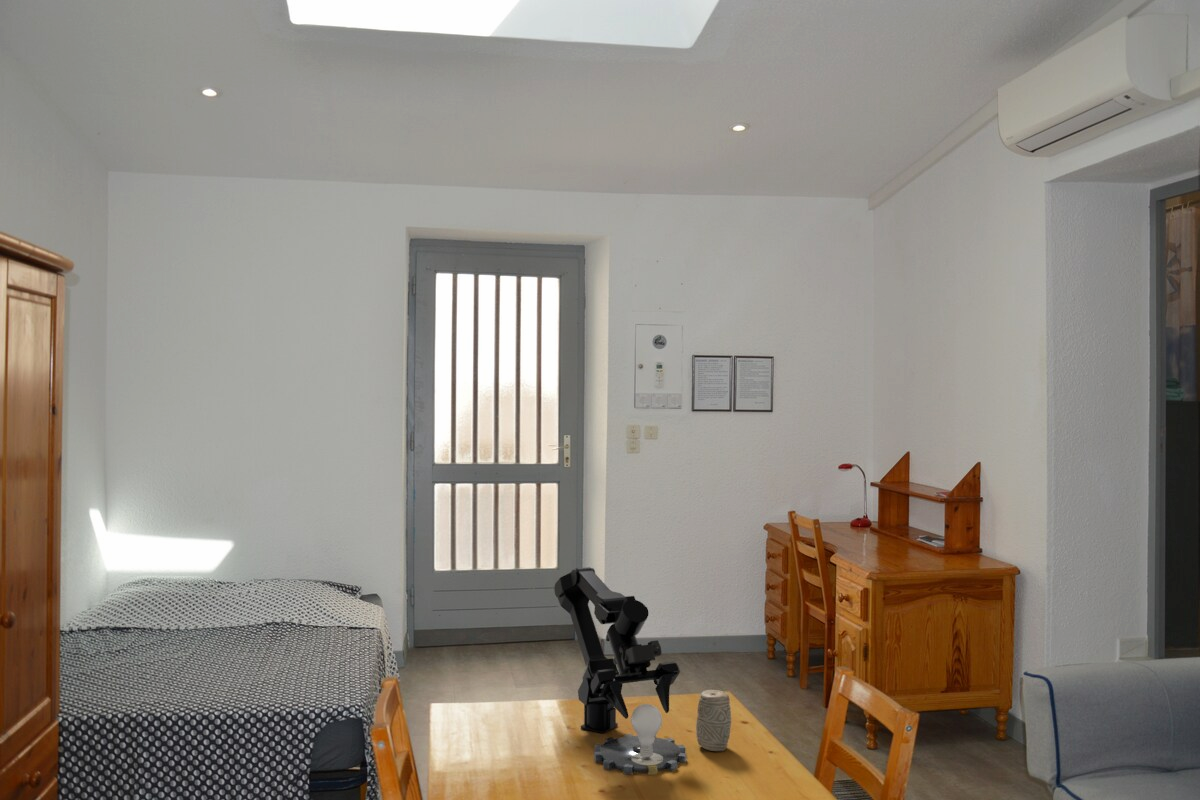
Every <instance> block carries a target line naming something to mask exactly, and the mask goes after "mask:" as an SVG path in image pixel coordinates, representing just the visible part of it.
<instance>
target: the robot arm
mask: <svg viewBox="0 0 1200 800" xmlns="http://www.w3.org/2000/svg"><path fill="white" fill-rule="evenodd" d="M553 588H554V589H553V590H554V595H555V597H556V598H557V600H558V603H559V605H560V607H561V608H562V609H563V610H565V611H566V612H567V613H568V614H569V615H570V618H571V622H572V625H573V629H574V632H575V635H576V638H577V642H578V644H579V648H580V651H581V654H582V657H583V660H584V663H585V668H584V672H583V673H582V674H583V675H582V682H581V683H580V686H579V688H578V690H577V696H578V700H579V701H580V702H581V703H582V704H583V707H584V708H583V710H584V711H583V714H584V715H583V716H584V717H583V720H584V721H583V722H584V723H583V724H582V725H580V729H581V730H586V731H591V732H596V733H600V734H605V733H608V732H609V731H611V730H612V729H614V728H616V727H618V725H619V723H618V722H617V721H616V719H617V718H616V717H617V712H618V713H620V715H621V716H622V718H624V719H625V720H627V719H628V718H629V712H628V708H627V706H626V703H625V700H624V698H623V694H622V690H623V684H629V683H639V682H645V681H653V683H654V685H656V686H655V687H654V688H655V692H656V694H657V697H658V699H659V702H660V703H661V706H662V709H663V711H664V713H666V714H668V713H669V711H670V687H671V685H673V684H674V683H675V681H676V680H677V678H678V676H679V674H681V669H680V666H679V664H678V663H677V662H675V661H666V662H659V663H658V665H657V667H656V668H655V669H652V670H648V668H650V667H651V661H655V660H656V658H658V657H660V656H662V647H661V644H660V642H659V640H651V641H649V642H647V644H642V643H639V642H638V639H637V635H638V634H640V632H641V630H642V628H643V627H644V624H645V623H646V621H647V619H648V617H649V609H648V607H647V606H646V605H645V604H644V603H643V602H641V601H639V600H636V597H635V595H629V596H628V595H627V596H625V595H624V594H622V593H620V592H616V591H613V590H611V589H610V588H609V587H608V586H607V585H606V584H605V582H603V580H602V579H601V578H600V577H599V576H598V575H597V573H596V571H595V568H593V567H590V566H589V567H576V568H574V569H572V570H571V571H570V572H569V573H567V574H565V575H563V576H561V577H559V578H558V580H557V581H556V582H555V583H554V587H553ZM589 603H592V604H593V606H594V609H593V610H594V611H593V612H594V613H593V614H594V616H595V619H597V621H598V623H599V624H601V625H609V624H610V626H609V628H608V629H607V631H606V636H605V641H606V642H609V644H610V647H611V649H612V654H613V656H614V658H611V657H610V658H607V657H606V656H605V652H604V650H603V647H602V643H601V641H600V637H599V634H598V631H597V628H596V625H595V622H594V619H593V616H592V613H591V610H590V607H589ZM616 711H617V712H616Z"/></svg>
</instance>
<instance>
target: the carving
mask: <svg viewBox="0 0 1200 800" xmlns="http://www.w3.org/2000/svg"><path fill="white" fill-rule="evenodd" d="M730 703H731V702H730V695H729V694H728V693H726V692H725V691H724V690H723V691H722V690H718V689H706V690H703V691H702V692H701V693H700V695H699V699H698V705H697V716H696V726H695V728H696V731H695V733H696V741H697V743H698V745H699V746H700V747H701V748H703V749H704V750H707V751H709V752H724V751H725V750H726V749H727V747H728V743H729V739H730V734H731V728H732V727H731V726H732V717H731V715H732V711H731V705H730Z"/></svg>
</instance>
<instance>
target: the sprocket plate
mask: <svg viewBox="0 0 1200 800" xmlns="http://www.w3.org/2000/svg"><path fill="white" fill-rule="evenodd" d="M593 748H594V749H593V750H594V751H593V760H594V762H595V763H602V764H603V765H602V767H603V769H605V770H607V771H612V770H618V771H622V772H623V775H631V776H632V775H633V774H634V773H640V774H641V773H647V775H649V776H652V775H658V772H660V771H661V772H662V771H665V770H667V771H669V772H670V771H671V772H673V771H676V770H678V764H686V762H687V753H686V752H687V748H686V746H685V745H684V744H676V743H675V739H673V738H670V737H666V738H661V737H656V736H655V740H654V743H653V756H651V757H650V758H644V757H642V756H641V755H640V742H639V740H638V735H634V734H633V733H627V734H623V736H621V737H617V738H614V737H611V736H610V737H606V738H605V739H604V743H603V744H602V743H595V745H594V747H593Z"/></svg>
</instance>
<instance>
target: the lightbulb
mask: <svg viewBox="0 0 1200 800" xmlns="http://www.w3.org/2000/svg"><path fill="white" fill-rule="evenodd" d="M630 723H631V727H632V728H633V730H634V732H635V733H636V736H638V740H639V742H640V755H641V756H642V757H644V758H650V757H651V756H653V743H654V740H655V737H656V735H657V734H658V732H659V731H660V729H661V727H662V723H663V717H662V713H661V711H660V710H659V708H657V707H656V706H655V705H652V704H649V703H643V704H640V705H638V706H636V708H635V709H633V711H632V714H631V718H630Z"/></svg>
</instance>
